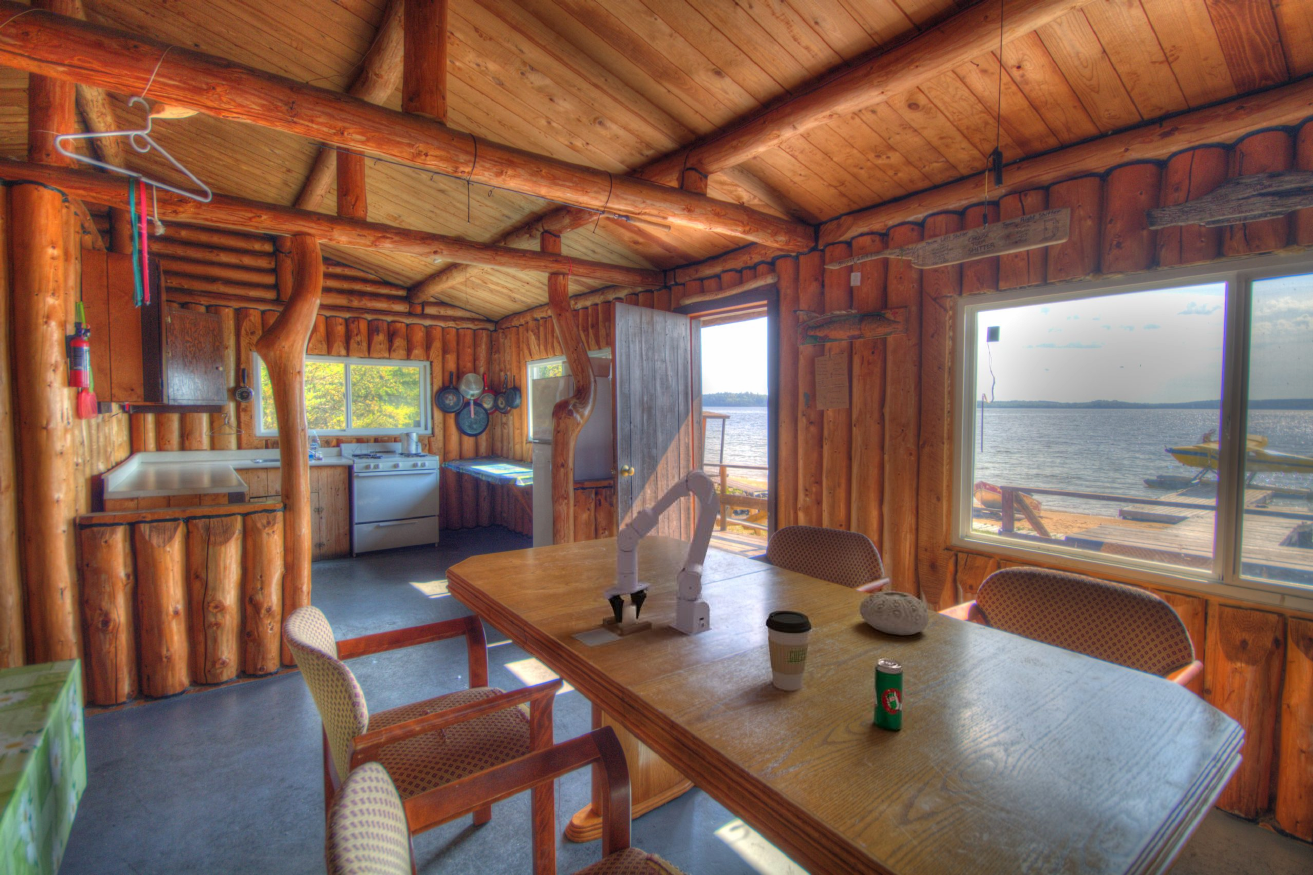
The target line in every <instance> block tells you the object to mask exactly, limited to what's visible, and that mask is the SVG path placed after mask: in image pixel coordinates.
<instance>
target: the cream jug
mask: <svg viewBox="0 0 1313 875" xmlns="http://www.w3.org/2000/svg"><path fill="white" fill-rule="evenodd" d="M636 621H637V619H636V604H635V603H632V602H630V601H624V604H623V610H622V623H618V627H619V628H620V627H625V626H629V625H633V624H636Z"/></svg>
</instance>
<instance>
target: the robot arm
mask: <svg viewBox="0 0 1313 875" xmlns="http://www.w3.org/2000/svg"><path fill="white" fill-rule="evenodd" d="M690 493H692V494H693V495H694V496H695V497H696V498H697V500H698V501H699V502H700V505H701V507H700V511H699V515H698V519H697V522H696V525H695V528H694V533H693V536H692V540H691V543H690V546H689V549H688V550H689V551H688V554H687V557H686V560H685V561H684V563H683V567H682V569H681V570H680V571H679V572H678V574H677V576H676V583H677V585H678V591H677V592H676V594H675V622H673V623H670V624H668V625H669V627H670V628H674V629H676V630H678V631H680V632H682V633H684V634H686V635H689V636H694V635H697V634H700V633H705V632H708V631H712V629H713V628H712V627H711V626H710V618H711V616H710V614H711V611H710V608H711V607H710V605H709V603H708V602H706V601H705V600H704V599H703V593H702V588H703V587H702V576H703V571H704V570H703V569H704V564H705V559H706V556H707V552H708V549H709V546H710V542H711V538H712V535H713V532H714V528H715V525H716V520H717V518H718V514H719V510H720V507H721V503H720V502H721V501H720V499H719V497H718V496H719V495H718V493H717V489H716V486H715V482H714V481H713V480H712V479H711V477H709V475H708V474H707V473H706V472H705V471H703V470H702V469H698V468H694V469H691V470H690V471H688V472H687V473H686V475H684V476H682V477H681V478H680V479H678V481H676V482H675V483H674V484H673V485H672V486H671V487H670V488H669V489H668V490H667V491H666V492H665V493H664V494H663V495H662V496H661V498H659V499H658V500H657V501H656V502H655V504H653V506H652V507H644V508H643V509H639V510H638V511H637V512H636V514H637V515H636V516H635V517H634V518H633V519H632V520H631V521H630V522H626V523H625V524H624V526H625V527H622V528H621V529H620V530H619V532H618V533H617V537H616V544H617V551H616V552H617V554H616V586H614V587H610V588H609V589H605V590H603V591H602V592H603V593H602V595H603V596H602V598H604V599H605V600H608V602H609V604H610V606H611V609H612V611H613V616H615V620H616V622H618V623H622V610H623V604H624V602H626V601H625V600H624V599H622V597H621V596H626V595H629V596H630V601H631V603H635V604H636V620H638V619H639V616H640V612H641V610H642V607H643V604H644V602H645V600H646V598H647V596H648V594H647V592H650V591H651V583H649V582H638V577H639V576H638V568H639V566H638V562H639V561H638V560H639V559H638V558H639V556H638V553H637V550H638V549H637V548H638V544H639V541H640V540H642V539H644V538H645V537H646V536H647V535H648V534H649V533H650V532H651V531H653V529H654V528H655V527H656V526H657V525H659V524H660V521H659V520H660V519H659V518H660V517H661V515H662V514H663V513H664V512H666V511H667V510H668V509H669V508H670V507H671V506H673V504H675V502H677V501H678V500H679V499H681V498H685V497H689V496H690V497H691V494H690ZM645 591H646V592H645Z"/></svg>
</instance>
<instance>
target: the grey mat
mask: <svg viewBox="0 0 1313 875" xmlns="http://www.w3.org/2000/svg"><path fill="white" fill-rule="evenodd" d="M570 636H571V637H573V638H574V639H576V640H578V641H580V642H581V643H582V644H583V645H586V646H587V647H589V648H592V647H596V646H600V645H604V644H608V643H612V642H615V641H619V640H623V637H621V636H619V635H618V634H616V633H613V632H612V631H610V630H609V629H606V628H605V627H600V628H595V629H591V630H587V631H583V632H580V633H575V634H571V635H570Z"/></svg>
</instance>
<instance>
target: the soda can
mask: <svg viewBox="0 0 1313 875" xmlns="http://www.w3.org/2000/svg"><path fill="white" fill-rule="evenodd" d="M873 679H874V688H873V690H874V692H873V722H874V723H875V725H876V726H877V727H879V728H880V729H882V730H885V731H890V732H891V731H893V732H894V731H898V730H899V729H900V728H901V727H902V726H903V705H904V704H903V701H904V699H903V697H904V696H903V695H904V693H903V692H904V669H903V668H902V663H900V662H899V661H897V660H894V659H892V658H880V659H877V661H876V664H875V665H874V677H873Z"/></svg>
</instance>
